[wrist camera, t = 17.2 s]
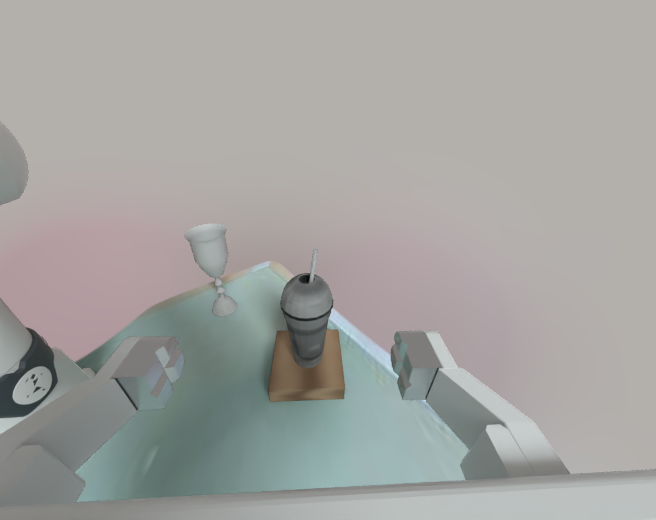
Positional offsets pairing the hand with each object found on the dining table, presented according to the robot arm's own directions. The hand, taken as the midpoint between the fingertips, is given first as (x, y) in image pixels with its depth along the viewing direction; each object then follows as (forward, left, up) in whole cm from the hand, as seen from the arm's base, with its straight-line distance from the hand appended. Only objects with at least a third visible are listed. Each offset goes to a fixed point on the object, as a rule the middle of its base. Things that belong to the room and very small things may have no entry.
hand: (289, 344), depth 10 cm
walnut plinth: (0, +20, -30) cm, 36 cm away
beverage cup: (0, +20, -27) cm, 34 cm away
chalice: (-18, +35, -30) cm, 50 cm away
